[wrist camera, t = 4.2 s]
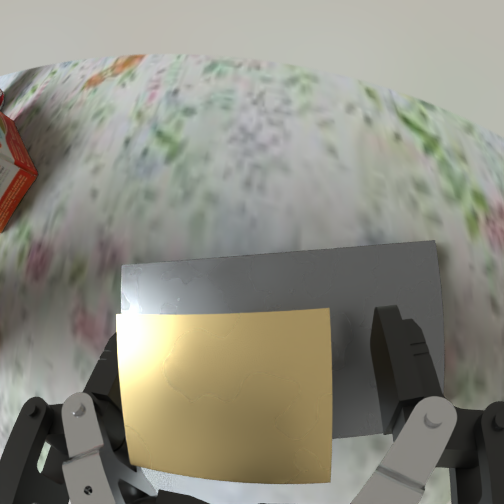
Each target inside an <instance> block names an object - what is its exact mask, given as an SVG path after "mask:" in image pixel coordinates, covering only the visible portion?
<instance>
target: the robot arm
mask: <svg viewBox="0 0 504 504" xmlns="http://www.w3.org/2000/svg"><path fill="white" fill-rule="evenodd" d="M370 351H371V357H372V363H373V368H374V374H375V380H376V386H377V392H378V399H379V405H380V412H381V420H382V427H383V435H387V434H393V441H394V443H393V445H392V447H391V448H390V450H389V451H388V453H387V454H386V456H385V457H384V459H383V460H382V462H381V463H380V465H379V466H378V467H377V469H376V470H375V472H374V473H373V474H372V476H371V477H370V479H369V480H368V481H367V483H366V484H365V485H364V487H363V488H362V489H361V491H360V492H359V493H358V494H357V496H356V497H355V498H354V500H353V501H352V502H351V503H350V504H418V503H419V501H420V499H421V498H422V496H423V493H424V491H425V485H426V483H427V481H428V479H429V477H430V475H431V474H432V472H433V470H434V468H435V467H444V468H449V473H450V486H451V503H452V504H504V402H502V401H498V402H494V403H492V404H490V405H489V406H488V407H487V408H486V409H485V410H468V409H460V408H457V407H455V406H453V405H452V404H451V402H449V401H448V400H447V399H445V397H444V395H443V393H442V391H441V387H440V384H439V380H438V377H437V374H436V370H435V367H434V364H433V361H432V358H431V355H430V354H429V349H428V346H427V344H426V340H425V337H424V334H423V332H422V329H421V328H420V327H419V326H418V324H417V323H416V322H415V321H414V320H413V319H412V318H411V319H404V320H402V317H401V314H400V311H399V308H398V306H397V305H389V306H380V307H375V309H374V315H373V322H372V329H371V335H370ZM45 441H46V442H47V443H48V444H50V445H51V447H50V450H49V453H48V456H47V459H46V462H45V465H44V468H43V471H42V472H41V473H39V471H38V469H37V462H38V459H39V456H40V453H41V451H42V448H43V445H44V443H45ZM69 499H70V501H71V504H209V503H207V502H204V501H202V500H199V499H197V498H194V497H192V496H190V495H184V494H179V493H174V492H169V491H164V490H160V489H159V491H158V494H157V492H156V490H155V489H154V487H153V486H152V484H151V483H150V482H149V481H148V480H147V478H146V477H145V475H144V474H143V472H142V469H141V467H139V466H135V465H131V464H130V459H129V453H128V447H127V441H126V434H125V427H124V419H123V410H122V401H121V391H120V379H119V366H118V347H117V332H116V333H115V334H114V335H113V336H112V337H111V338H110V339H109V341H108V343H107V345H106V347H105V349H104V352H103V353H102V354H101V356H100V360H98V362H97V364H96V366H95V368H94V370H93V372H92V374H91V376H90V378H89V380H88V382H87V385H86V387H85V389H84V390H83V392H79V393H75V394H73V395H71V396H70V397H69V398H68V399H67V400H66V401H65V402H64V404H56V405H48V404H47V403H46V402H45V401H44V400H43V399H42V398H40V397H33V398H31V399H29V400H28V401H27V402H26V403H25V404H24V405H23V407H22V409H21V411H20V413H19V416H18V418H17V420H16V422H15V425H14V427H13V429H12V432H11V434H10V437H9V439H8V441H7V444H6V446H5V449H4V452H3V454H2V457H1V460H0V504H68V502H69ZM260 504H265V503H260Z"/></svg>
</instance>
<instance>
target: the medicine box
mask: <svg viewBox="0 0 504 504" xmlns="http://www.w3.org/2000/svg"><path fill="white" fill-rule="evenodd" d="M37 176H38V172H37V170H36V168H35V166H34V164H33V162H32V160H31V158H30V156H29V154H28V152H27V150H26V148H25V146H24V144H23V141H22V139H21V137H20V135H19V133H18V130H17V128H16V126H15V123H14V121H13V120H11V119H10V118H8V117H7V116H6V115H4V114H3V113H2V112H1V111H0V234H1V233H2V231H3V230H4V228H5V226H6V224H7V223H8V221H9V219H10V217H11V216H12V214H13V212H14V211H15V209H16V207H17V206H18V204H19V203H20V201H21V200H22V198H23V196H24V195H25V193H26V192H27V190H28V189H29V188H30V186H31V185H32V183H33V182H34V181H35V179H36V178H37Z"/></svg>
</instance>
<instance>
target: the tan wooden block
mask: <svg viewBox="0 0 504 504" xmlns="http://www.w3.org/2000/svg"><path fill="white" fill-rule="evenodd" d="M117 347H118V366H119V379H120V391H121V401H122V410H123V419H124V427H125V434H126V441H127V447H128V453H129V459H130V464H131V465H135V466H139V467H143V468H148V469H152V470H157V471H162V472H167V473H172V474H177V475H183V476H189V477H196V478H203V479H211V480H220V481H230V482H243V483H261V484H310V483H328V482H330V479H331V456H332V353H331V328H330V309H329V308H321V309H307V310H292V311H275V312H255V313H230V314H190V315H125V314H117Z"/></svg>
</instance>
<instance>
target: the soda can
mask: <svg viewBox="0 0 504 504" xmlns="http://www.w3.org/2000/svg"><path fill="white" fill-rule="evenodd" d="M3 103H4V92H3V91H2V90H1V89H0V111H1V109H2V106H3Z"/></svg>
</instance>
